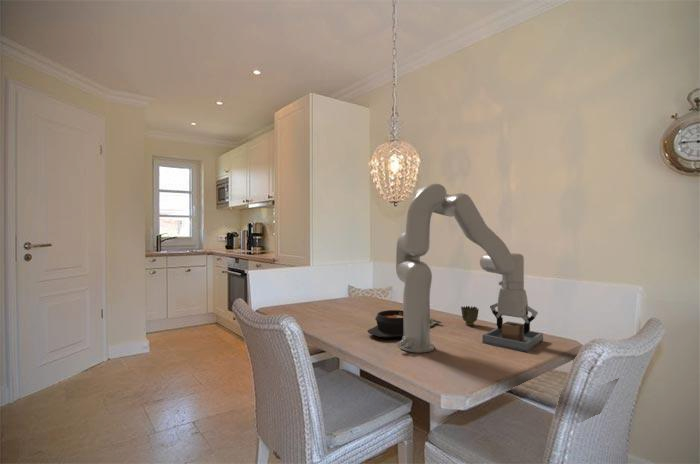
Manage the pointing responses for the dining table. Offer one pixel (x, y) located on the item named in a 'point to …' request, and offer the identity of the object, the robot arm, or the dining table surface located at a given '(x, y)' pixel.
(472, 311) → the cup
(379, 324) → the casserole
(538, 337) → the tray
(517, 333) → the walnut block
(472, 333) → the dining table surface
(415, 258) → the robot arm
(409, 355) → the dining table surface
